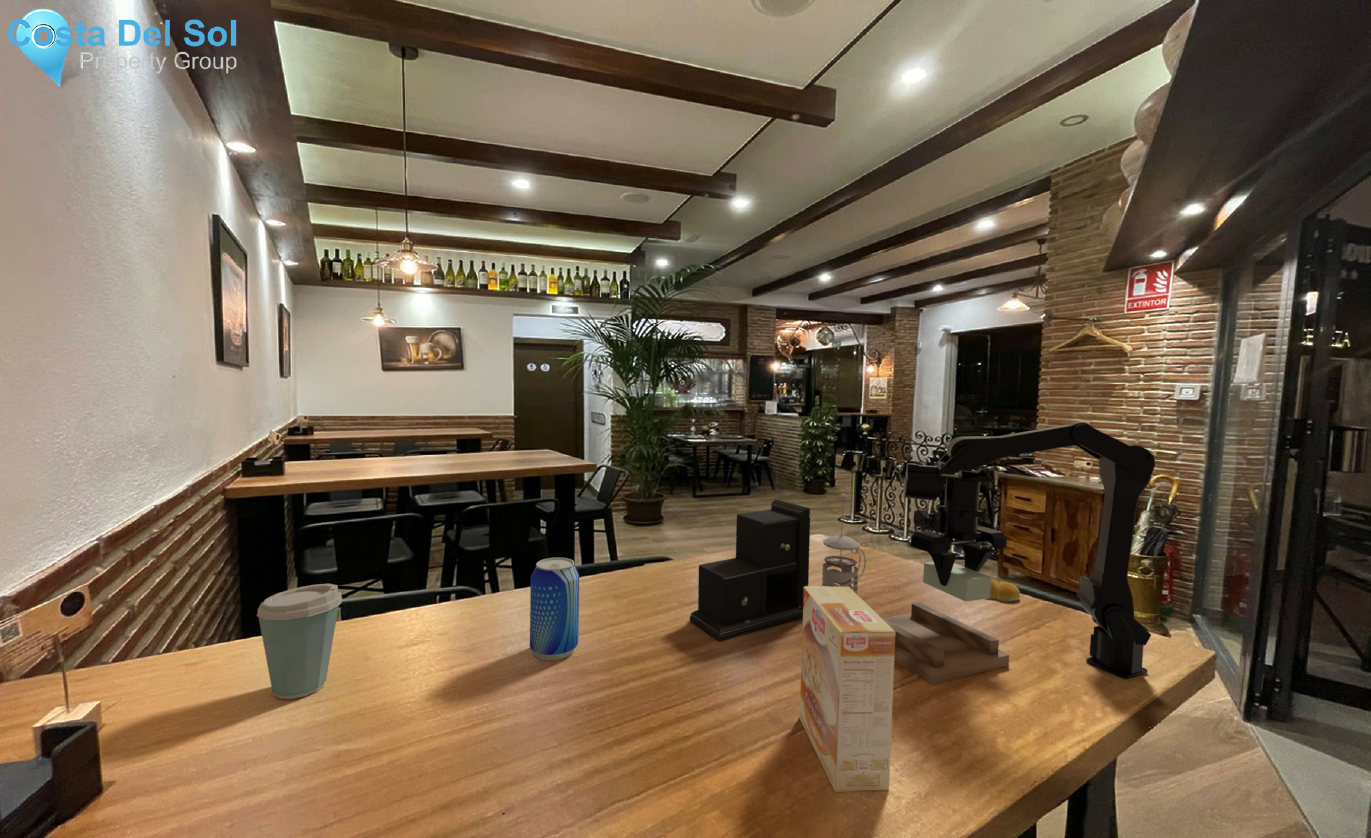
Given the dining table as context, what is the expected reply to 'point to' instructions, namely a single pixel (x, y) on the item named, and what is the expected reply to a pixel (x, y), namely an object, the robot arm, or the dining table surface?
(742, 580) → the black drawer cabinet
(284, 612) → the disposable coffee cup
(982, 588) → the pale green block
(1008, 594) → the bread roll
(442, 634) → the dining table surface
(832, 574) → the french press
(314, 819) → the dining table surface
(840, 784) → the coffeecake box
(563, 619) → the beer can
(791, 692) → the dining table surface
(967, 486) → the robot arm
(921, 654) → the brown wooden stand
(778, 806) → the dining table surface
